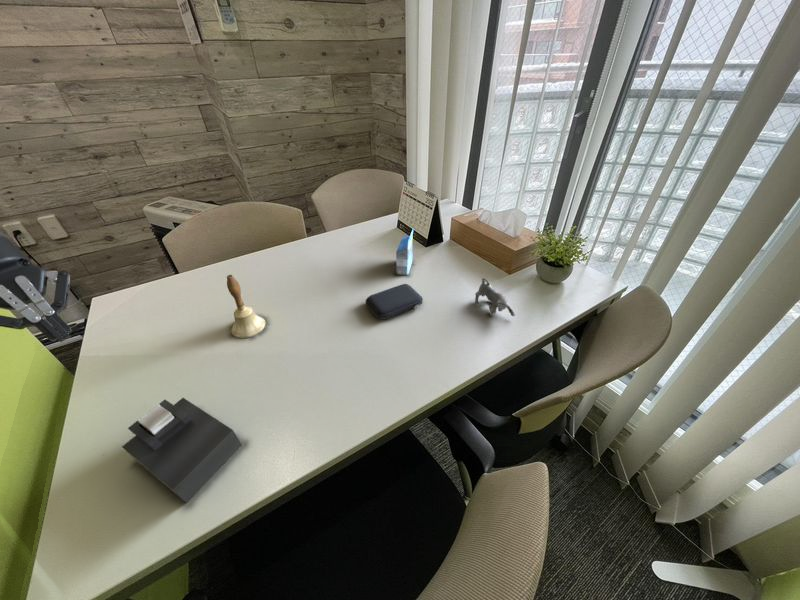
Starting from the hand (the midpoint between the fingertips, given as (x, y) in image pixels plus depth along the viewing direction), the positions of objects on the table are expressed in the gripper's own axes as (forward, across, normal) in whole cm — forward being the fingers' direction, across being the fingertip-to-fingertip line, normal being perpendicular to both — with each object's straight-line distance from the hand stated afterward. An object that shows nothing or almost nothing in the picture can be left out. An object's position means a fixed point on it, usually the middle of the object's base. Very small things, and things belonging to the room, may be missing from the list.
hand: (65, 338), depth 51 cm
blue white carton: (+29, +74, +5) cm, 80 cm away
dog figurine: (+50, +69, -18) cm, 88 cm away
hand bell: (+15, +28, +18) cm, 36 cm away
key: (+19, +1, +2) cm, 19 cm away
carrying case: (+34, +56, -2) cm, 66 cm away
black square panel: (+27, +1, +3) cm, 27 cm away
